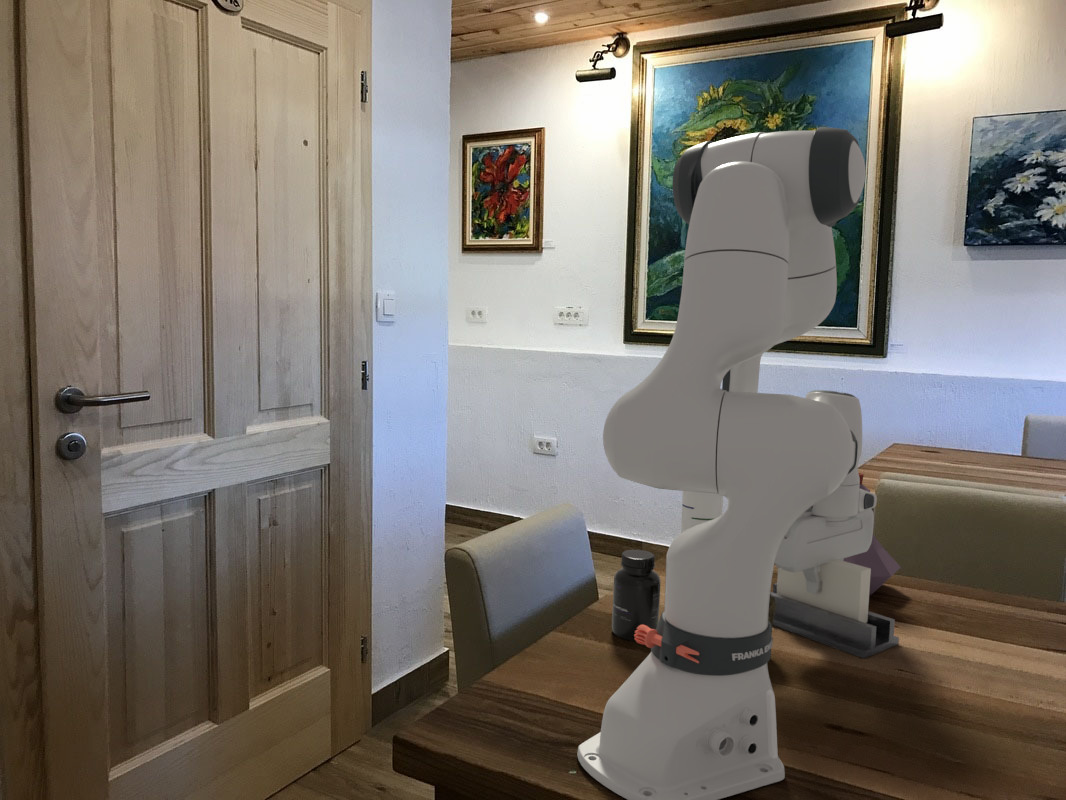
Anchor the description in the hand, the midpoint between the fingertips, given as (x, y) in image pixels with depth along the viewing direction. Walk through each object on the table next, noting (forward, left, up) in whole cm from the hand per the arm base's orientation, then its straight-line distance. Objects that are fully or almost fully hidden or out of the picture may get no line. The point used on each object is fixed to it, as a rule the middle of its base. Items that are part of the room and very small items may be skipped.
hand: (821, 589), depth 129 cm
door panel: (0, 0, -3) cm, 3 cm away
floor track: (0, 0, -6) cm, 6 cm away
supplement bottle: (-24, +15, -6) cm, 29 cm away
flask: (+22, +9, -6) cm, 25 cm away
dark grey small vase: (-16, +1, -6) cm, 17 cm away
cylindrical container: (+6, +29, -6) cm, 30 cm away
